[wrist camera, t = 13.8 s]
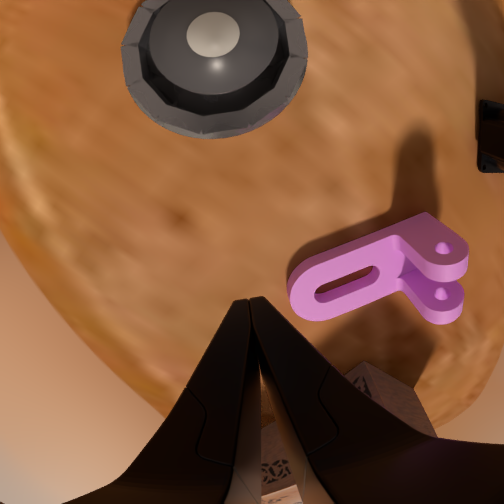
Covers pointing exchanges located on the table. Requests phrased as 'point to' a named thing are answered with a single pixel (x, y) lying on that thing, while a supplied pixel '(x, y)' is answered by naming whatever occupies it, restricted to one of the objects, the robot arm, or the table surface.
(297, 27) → the shallow metal dish
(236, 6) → the cap
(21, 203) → the table surface
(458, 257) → the bracket
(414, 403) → the tissue box cover
